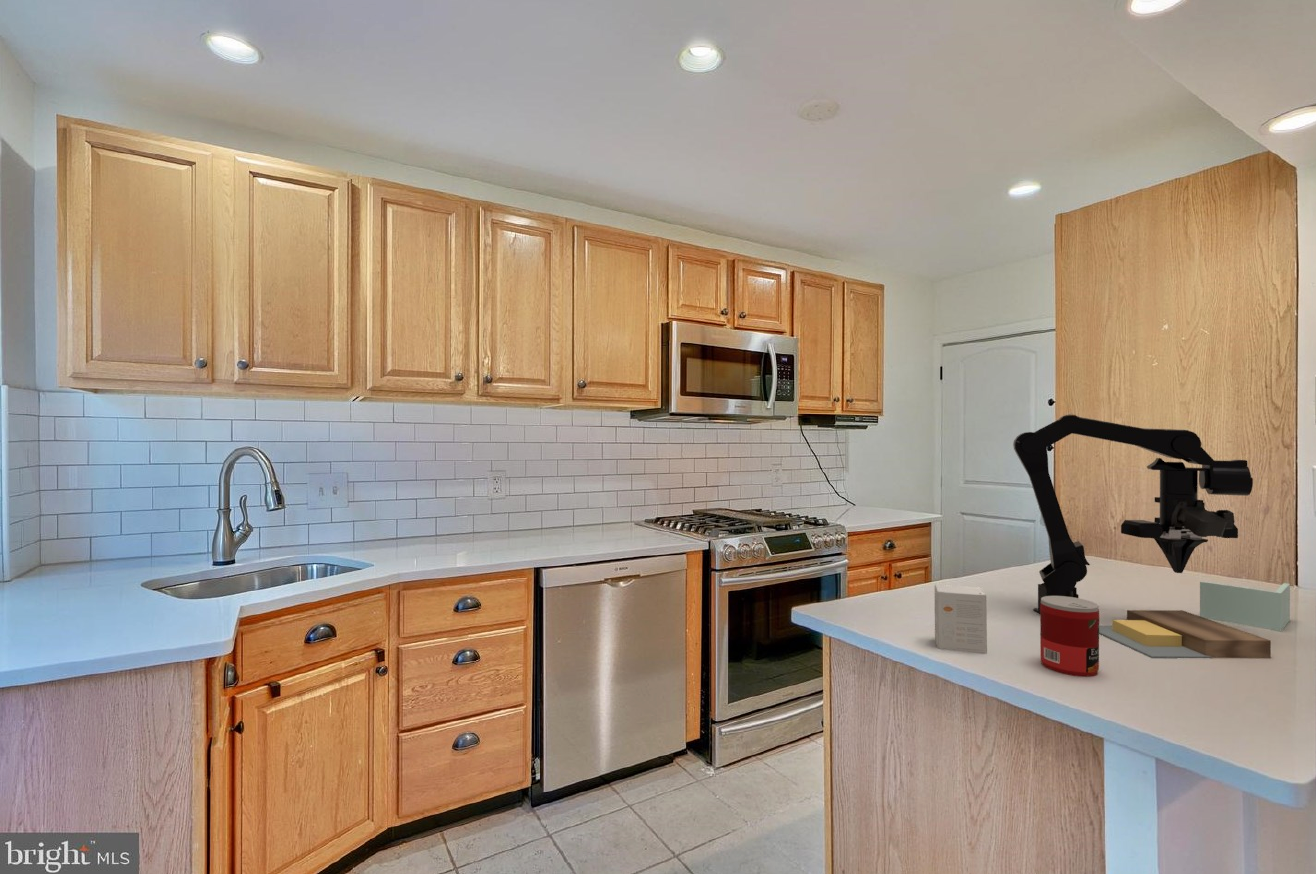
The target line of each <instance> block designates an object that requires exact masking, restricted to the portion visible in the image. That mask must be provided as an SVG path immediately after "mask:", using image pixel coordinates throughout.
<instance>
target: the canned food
mask: <svg viewBox="0 0 1316 874" xmlns="http://www.w3.org/2000/svg"><path fill="white" fill-rule="evenodd" d="M1039 614H1040V615H1039V616H1040V617H1039V618H1040V620H1039V621H1040V623H1039V625H1040V630H1039V631H1040V634H1039V635H1040V637H1039V638H1040V649H1039V650H1040V662H1041V664H1042V666H1043V667H1045V668H1047V669H1048V670H1051V671H1054V672H1057V673H1060V674H1063V675H1069V676H1073V677H1074V676H1075V677H1076V676H1077V677H1094V676H1097V674H1098V671H1099V669H1100V668H1099V667H1100V634H1099V626H1100V605H1099V604H1097V603H1095V602H1094V601H1090V600H1087V599H1084V598H1074V597H1066V596H1045V597H1042V598H1041V606H1040V613H1039Z"/></svg>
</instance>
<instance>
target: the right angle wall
mask: <svg viewBox="0 0 1316 874" xmlns="http://www.w3.org/2000/svg"><path fill="white" fill-rule="evenodd" d="M1199 616H1200V617H1203V618H1206V619H1209V620H1212V621H1220V622H1226V623H1230V624H1231V623H1232V624H1236V625H1237V624H1238V625H1242V626H1247V627H1253V628H1259V629H1264V630H1265V629H1266V630H1270V631H1274V632H1278V633H1279V632H1280V633H1281V632H1282V631H1283V630H1284V629H1285V627H1286V626H1287V624H1288V623H1289V622H1290V620H1291V584H1290V583H1288V582H1283V583H1282V584H1281V585H1280V586H1279V587H1278V589H1276V590H1275V591H1274V590H1267V589H1260V588H1253V587H1245V586H1240V585H1239V586H1238V585H1232V584H1226V583H1217V582H1210V581H1204V580H1201V581H1199Z"/></svg>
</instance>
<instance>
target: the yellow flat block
mask: <svg viewBox="0 0 1316 874" xmlns="http://www.w3.org/2000/svg"><path fill="white" fill-rule="evenodd" d="M1111 623H1112V625H1111V626H1112V630H1113V631H1115V632H1117V633H1120V634H1122V635H1124V636H1126V637H1128V638H1130V639H1132V640H1135V641H1137V642H1139V643H1141V644H1143V645H1145V646H1167V647H1182V635H1179V634H1177V633H1174V632H1172V631H1169V630H1167V629H1165V628H1162V627H1160V626H1157V625H1155V624H1152V623H1150V622H1148V621H1145V620H1127V619H1112V622H1111Z"/></svg>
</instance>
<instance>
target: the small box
mask: <svg viewBox="0 0 1316 874" xmlns="http://www.w3.org/2000/svg"><path fill="white" fill-rule="evenodd" d="M987 609H988V608H987V595H986V593H985V592H984V590H983V588H981V587H979V586H966V585H965V586H963V585H962V586H961V585H950V584H949V585H946V584H945V585H944V584H935V585H934V642H935V644H936V647H937V649H939V650H948V651H957V652H968V653H979V654H987V653H988V630H987V629H988V627H987V625H988V624H987V619H988V617H987Z"/></svg>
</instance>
